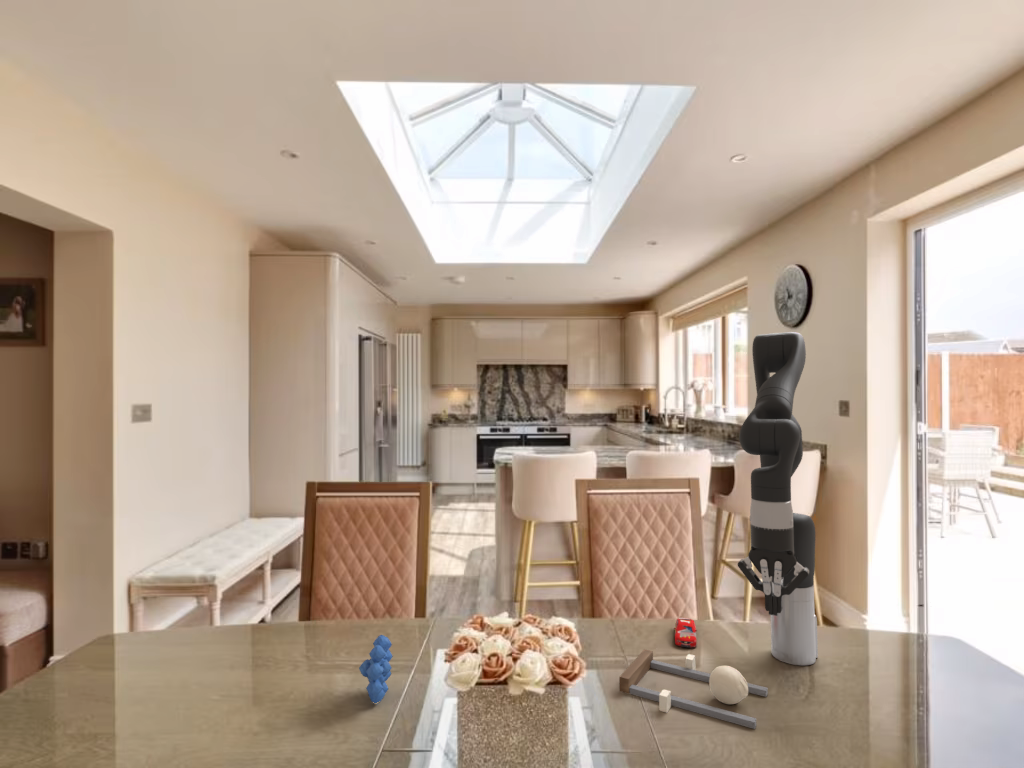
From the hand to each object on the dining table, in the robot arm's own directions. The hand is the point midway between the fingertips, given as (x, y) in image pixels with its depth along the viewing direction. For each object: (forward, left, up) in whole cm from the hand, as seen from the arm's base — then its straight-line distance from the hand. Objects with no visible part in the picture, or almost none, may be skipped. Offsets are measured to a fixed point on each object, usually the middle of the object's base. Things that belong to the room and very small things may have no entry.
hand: (773, 613), depth 109 cm
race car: (-10, -34, -20) cm, 40 cm away
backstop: (+14, -24, -19) cm, 33 cm away
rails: (+7, -13, -19) cm, 24 cm away
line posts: (+9, -16, -19) cm, 27 cm away
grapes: (+66, -43, -19) cm, 81 cm away
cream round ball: (+4, -7, -19) cm, 21 cm away
